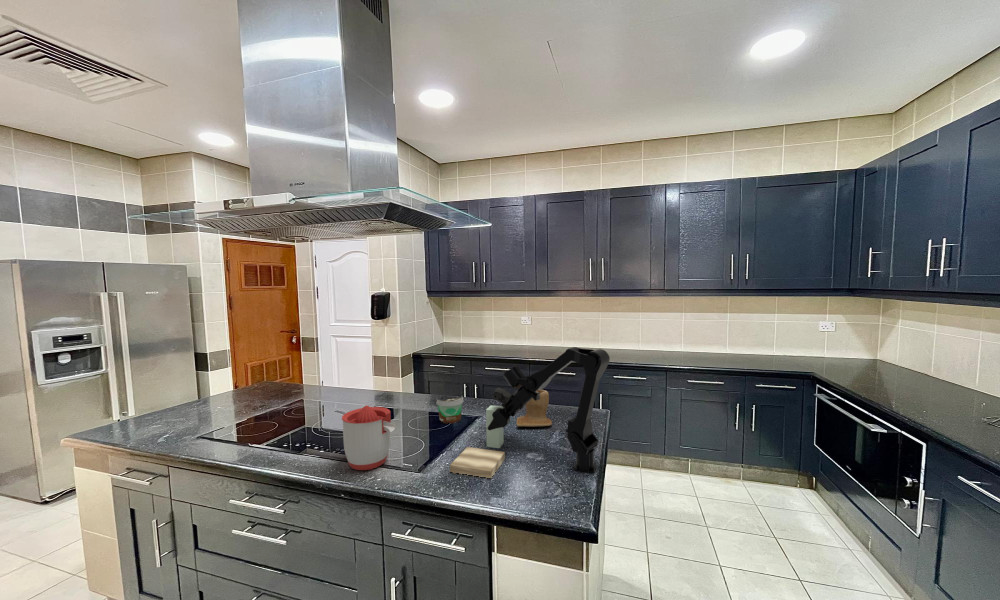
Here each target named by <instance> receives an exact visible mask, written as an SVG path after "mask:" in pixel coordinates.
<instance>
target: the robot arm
mask: <svg viewBox="0 0 1000 600" xmlns="http://www.w3.org/2000/svg"><path fill="white" fill-rule="evenodd" d="M610 358H611V357H610V354H609V353H608V352H607V351H606V350H604V349H602V348H599V349H590V348H581V347H577V346H573V347H569V348H567V349H566V350H564V352H563V353H562V354H560V355H558V357H557V358H555V359H554V360H553V361H552V362H551V363H549V364H548V365H546V367H544V368H542V369H541V370H538V371H536V372H534V373H531V374H528V375H526V376H525V373H523V371H522V370H521V369H520V367H519V365H513V366H512V367H511V368H509V369H508V370H507V371H505V372H504V374H502V375H503V378H504V379H505V381H507V383H508V385H509V386H510V387H511V389H516V391H515V392H513V393H512V394H511V393H509V391H507V390H505V389H504V388H502V387H497V388H496V389H495V390H494V391H493V393H492V397H491V398H492V399H494V400H496V401H497V402H500V403H501V405H500V406H502V407H503V409H502V408H498V409H497V410H496V411H494V412H493V413H492V416H493V420H492V422H491V423H490V425H489V426H488V428H487V429H488V430H493V429H496V428H501V427H503V429H504V428H505V427H507V426H508V424H510V422H511V417H514V416H516V414H517V413H519V411H520V410H522V409H523V408H524V407H526V404H527V403H528V402H529V401H530V400H531V399H532V398H533V399H534V400H535V401H537V400H540V393H538V392H536V391H537V390H543V389H545V388H546V387H547V386H548V385H549V383H551V382H552V381H551V380H552V379H553V378H554V377H555V376H556V375H558V374H559V373H561V371H562V370H564V369H565V368H567V367H568V366H569V365H570V364H571V363H576V364H578V365H581V366H583V372H584V382H583V385H582V388H581V389H582V390H581V393H580V394H581V395H580V398H579V403H578V406H577V412H576V416H574V417H573V418H570V419H568V421H567V429H566V430H565V433H567V434H566V438H567V440H568V441H569V444H570V447H571V451H572V452H573V453H575V457H576V459H575V464H574V466H573V470H574V471H578V472H586V473H590V474H591V473H593V474H595V472H596V466H597V463H596V462H595V448H596V447H597V446H598V444H599V439H598V438H597V437H596V435H595V434H594V433H593V424H592V415H593V410H594V405H595V403H596V402H595V400H596V397H597V393H598V390H599V389H598V388H599V384H600V380H601V378H602V376H603V374H604V373H605V371H606V369H607V368H608V365H609V363H610V361H611V359H610Z"/></svg>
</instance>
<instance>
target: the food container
mask: <svg viewBox="0 0 1000 600" xmlns="http://www.w3.org/2000/svg"><path fill="white" fill-rule="evenodd" d="M463 403H464V397H463V395H461V396H460V397H458V398H456V397H455V398H447V399H445V400H440V399H438V398H437V400H436V403H435V404H436V405H437V409H438V415H439V422H440V421H441V422H440V423H442V422H443V423H442V424H448V423H450V424H456V423H459V422H460V421H461V420H462V411H463V410H462V409H463ZM458 421H459V422H458ZM455 422H456V423H455Z"/></svg>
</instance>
